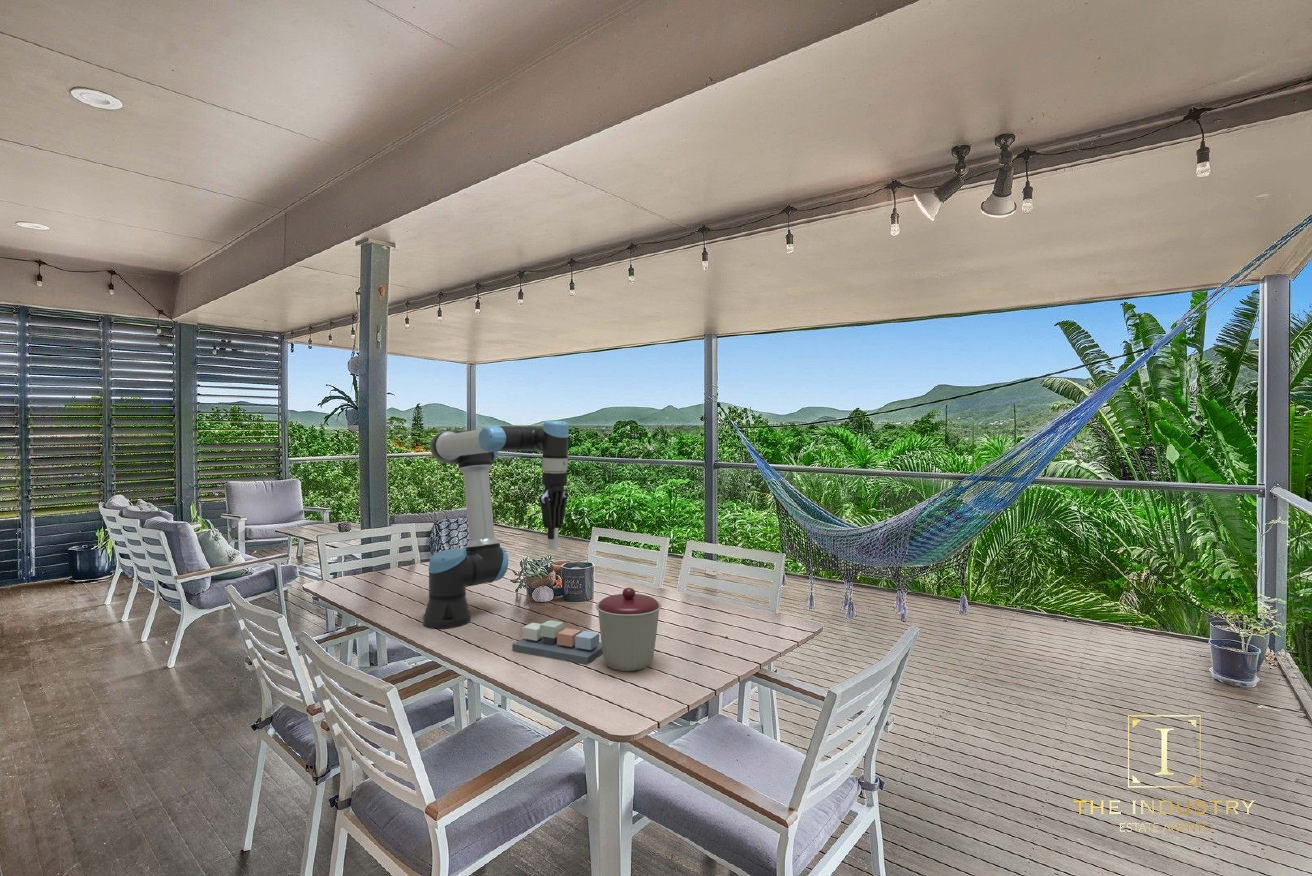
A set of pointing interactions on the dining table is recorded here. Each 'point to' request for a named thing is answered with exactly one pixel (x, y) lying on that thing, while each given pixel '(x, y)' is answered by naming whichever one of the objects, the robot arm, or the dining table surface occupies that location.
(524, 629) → the key ivory
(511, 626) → the dining table surface
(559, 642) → the key terracotta
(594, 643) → the key blue
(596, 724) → the dining table surface
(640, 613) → the canister
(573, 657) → the keypad board
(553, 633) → the key sage
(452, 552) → the robot arm
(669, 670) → the dining table surface
